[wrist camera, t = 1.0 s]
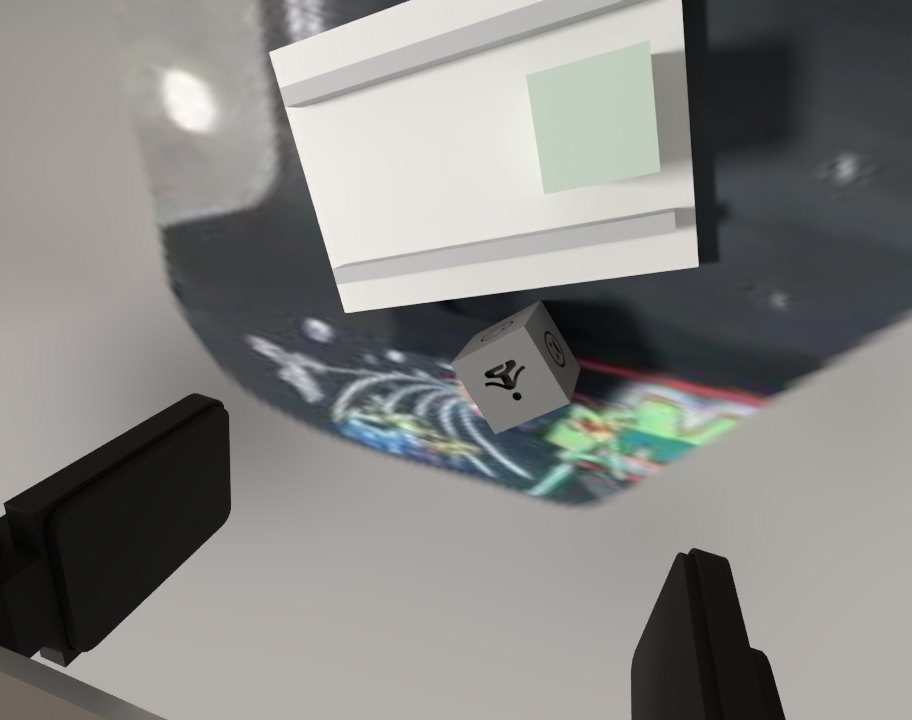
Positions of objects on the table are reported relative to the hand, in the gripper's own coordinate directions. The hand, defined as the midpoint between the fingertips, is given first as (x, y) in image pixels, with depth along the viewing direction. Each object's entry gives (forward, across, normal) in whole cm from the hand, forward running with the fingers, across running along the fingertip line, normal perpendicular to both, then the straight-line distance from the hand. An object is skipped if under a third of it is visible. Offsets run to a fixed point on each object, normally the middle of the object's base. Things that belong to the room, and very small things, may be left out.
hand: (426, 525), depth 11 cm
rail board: (+24, +6, -6) cm, 25 cm away
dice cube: (+24, +1, +6) cm, 25 cm away
